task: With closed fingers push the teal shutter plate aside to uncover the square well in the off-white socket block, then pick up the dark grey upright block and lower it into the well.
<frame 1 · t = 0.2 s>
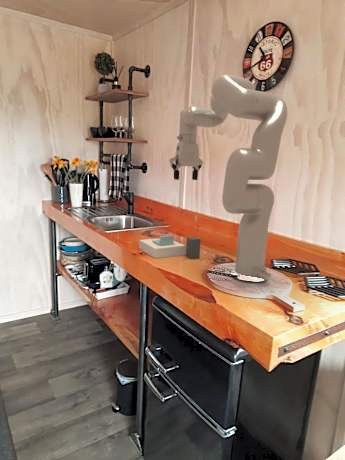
hand: (185, 179, 143), 31 cm above the counter, fingers open, 9 cm apart
socket: (162, 252, 137), on the counter
dark grey upright block: (192, 257, 131), on the counter
shutter: (163, 238, 136), point 6 cm above the counter, slide at 0.0 cm
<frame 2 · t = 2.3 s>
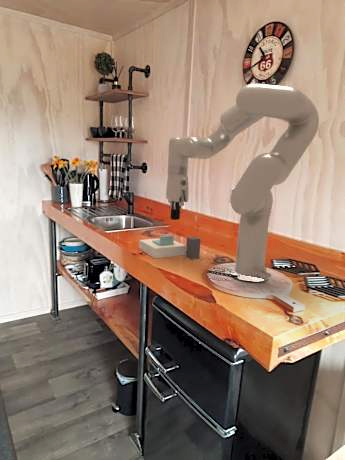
hand: (175, 219, 125), 16 cm above the counter, fingers closed
nothing on the counter moved.
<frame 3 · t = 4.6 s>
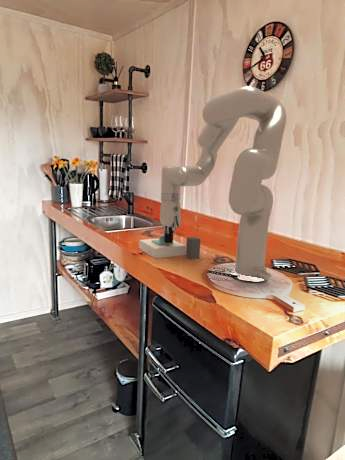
hand: (168, 242, 131), 5 cm above the counter, fingers closed
shutter: (162, 238, 136), point 6 cm above the counter, slide at 0.6 cm, touching gripper
everything else where it was.
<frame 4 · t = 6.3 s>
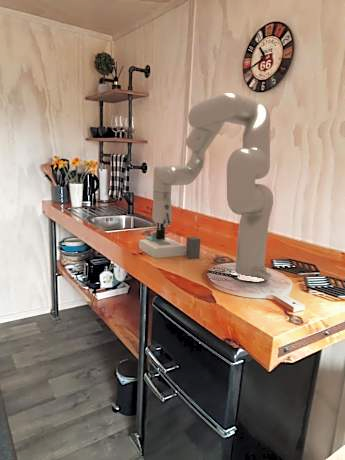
hand: (160, 238, 138), 5 cm above the counter, fingers closed
shutter: (155, 235, 142), point 6 cm above the counter, slide at 8.0 cm, touching gripper
everything else where it was.
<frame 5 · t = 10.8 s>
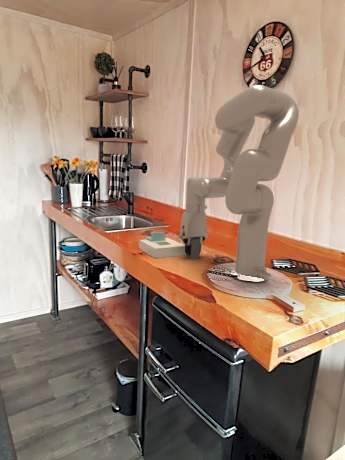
hand: (192, 253, 131), 2 cm above the counter, fingers closed on dark grey upright block, 4 cm apart
dark grey upright block: (192, 257, 131), on the counter, touching gripper
shutter: (155, 235, 142), point 6 cm above the counter, slide at 8.0 cm
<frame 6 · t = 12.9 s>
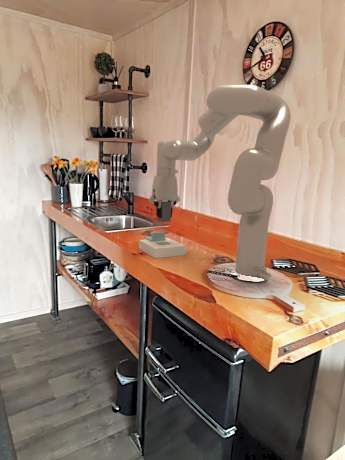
hand: (164, 216, 134), 15 cm above the counter, fingers closed on dark grey upright block, 4 cm apart
dark grey upright block: (164, 220, 134), point 14 cm above the counter, touching gripper
everything else where it was.
when the fingers open (5 cm above the counter, at t = 15.1 s): dark grey upright block drops 2 cm, resting on socket.
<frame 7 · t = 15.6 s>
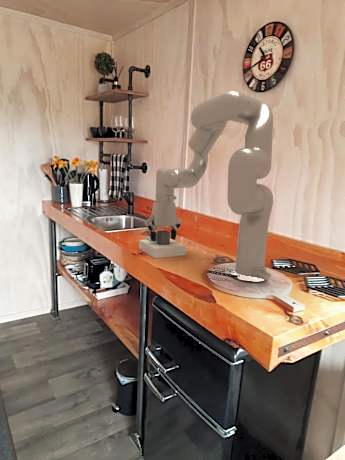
hand: (163, 239, 136), 5 cm above the counter, fingers open, 9 cm apart
dark grey upright block: (162, 250, 136), point 1 cm above the counter, touching socket
everything else where it was.
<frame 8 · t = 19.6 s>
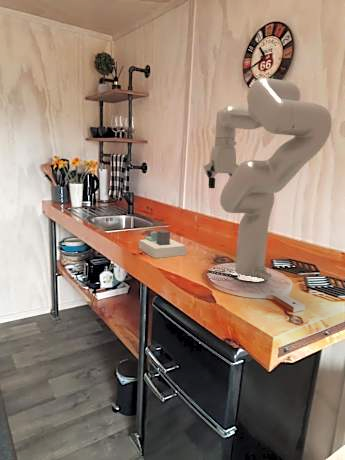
hand: (221, 188, 128), 28 cm above the counter, fingers open, 9 cm apart
nothing on the counter moved.
at the end: dark grey upright block 0.0 cm off-centre on the socket, point 1.1 cm above the socket's base; shutter slide at 8.0 cm; dark grey upright block tilted 0° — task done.
